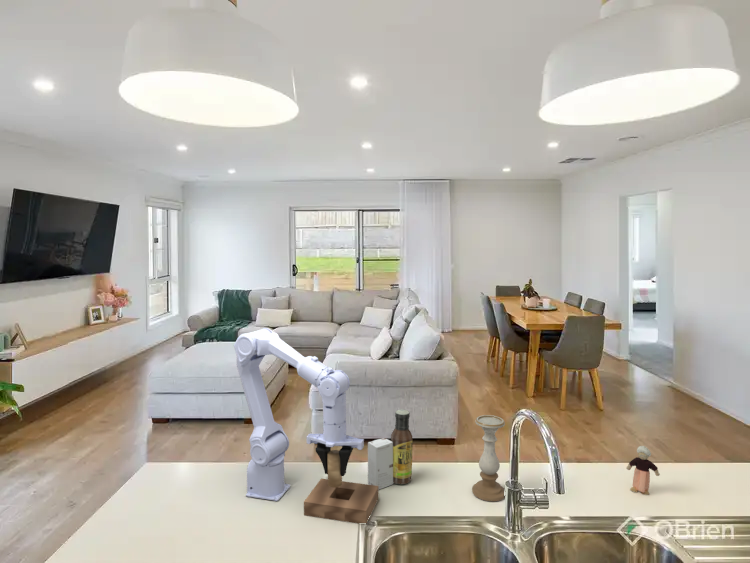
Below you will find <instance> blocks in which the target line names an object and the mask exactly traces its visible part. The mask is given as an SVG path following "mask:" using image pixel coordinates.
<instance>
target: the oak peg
mask: <svg viewBox="0 0 750 563" xmlns="http://www.w3.org/2000/svg"><path fill="white" fill-rule="evenodd" d="M339 451H340V449H331V451H329V452H328V453H327V466H328V474H327V479H328V486H329V487H333V488H336V487H340V486H341V485H342V481H343V476H341V474H340V466H341V464H340V456H339Z"/></svg>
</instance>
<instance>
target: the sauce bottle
mask: <svg viewBox="0 0 750 563" xmlns="http://www.w3.org/2000/svg"><path fill="white" fill-rule="evenodd" d="M394 414H395V415H394V418H395V425H394V426H395V427H394V429H393V430H392V432H391V435H390V441H392V442H393V484H397V485H406V484H408V483H411V481H412V472H413V471H412V470H413V444H414V443H413V435H412V431H411V430H410V428H409V427H410V426H409V424H410V422H409V420H410V416H411V415H410V411H408V410H407V409H398V410H395V413H394Z"/></svg>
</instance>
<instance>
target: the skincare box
mask: <svg viewBox="0 0 750 563" xmlns="http://www.w3.org/2000/svg"><path fill="white" fill-rule="evenodd" d="M367 484H368V485H375V486H379V490H380V489H384V488H386V487H389V486H392V485H394V483H393V442H392V441H391V439H387V438H386V437H383V438H378V439H374V440H372V441H368V442H367Z"/></svg>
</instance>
